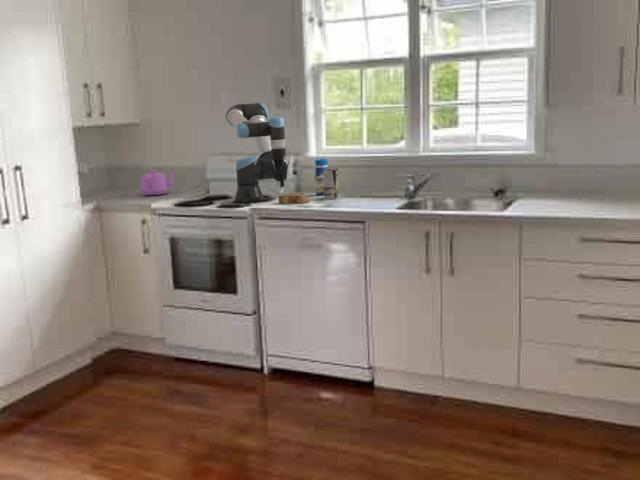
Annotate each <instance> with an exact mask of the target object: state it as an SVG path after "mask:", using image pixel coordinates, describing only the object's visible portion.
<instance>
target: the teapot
mask: <svg viewBox="0 0 640 480" xmlns="http://www.w3.org/2000/svg"><path fill="white" fill-rule="evenodd" d="M176 172H178V170H174V171H171V173H170V176H169V179H168V177H167V174H166V173H165V172H161V171H160V172H157V169H151V170H150V172H149V173H148V172H147V173H144V174H143V176H142V179H141V183H140V192H141V193H142V195H144V196H147V195H151V196H154V195H156V196H160V195H159V194H162V195H163V194H164V195H165V194H168V193H169V192H170V189H171V187H172V186H173V183H174V177H175V173H176Z"/></svg>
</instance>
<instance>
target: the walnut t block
mask: <svg viewBox="0 0 640 480" xmlns="http://www.w3.org/2000/svg"><path fill="white" fill-rule="evenodd" d="M309 200H310V195H309V194H304V192H299V191H296V192H293V193H286V194H280V195H279V194H278V203H280V204H288V203H296V204H307V203H309Z"/></svg>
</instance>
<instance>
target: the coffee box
mask: <svg viewBox="0 0 640 480" xmlns="http://www.w3.org/2000/svg"><path fill="white" fill-rule="evenodd" d="M323 174H324V196H323V197H324V201H331V200H333V201H335V200H338V199H340V192H339V191H340V189H339V168H338V167H337V168H328V169H325V170H324V171H323Z"/></svg>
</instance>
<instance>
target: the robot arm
mask: <svg viewBox="0 0 640 480" xmlns="http://www.w3.org/2000/svg"><path fill="white" fill-rule="evenodd" d="M284 120H285V119H284V118H283V117H271V118H270V114H269V109H268V107H267V105H266V104H265V103H263V102H253V103H237V104H234V105H232V106H231V107H228V109H227V111H226V113H225V121H227V123H228V124H229V125H231V126H232V127H235V128H236V134H237V137H238V138H239V139H241V138H242V139H248V138H253V139H254V142H255V145H256V148H257V153H259V154H258V155H259V156H258V157H257V156H255V155H251V156H246V157H241V158H239V159H237V160H236V161H235V170H236V171H235V173H236V184H237V188H236V193H235V196H234V199H235V202H236V203H252V202H253V203H254V202H260V201H263V200H264V195H263V192H262V190H261V187H260V181H265V180H276V183H277V184H276V185H277V192H278V195H279V194H280V195H282V194H284V193H285V180H287V179H288V178H287V177H288V170H289V169H288V167H289V163H290V162H289V161H287V160H286V155H287V150H286V149H287V148H286V136H285V121H284Z"/></svg>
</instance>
